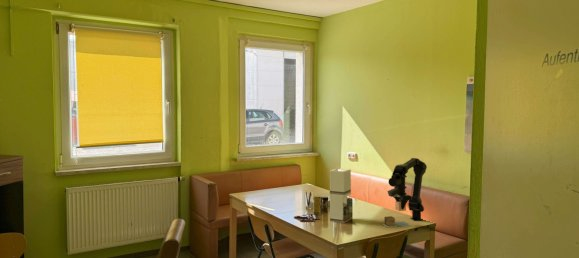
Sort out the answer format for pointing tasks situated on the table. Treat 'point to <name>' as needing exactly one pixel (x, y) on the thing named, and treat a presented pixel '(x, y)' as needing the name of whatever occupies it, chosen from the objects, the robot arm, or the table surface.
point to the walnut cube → (389, 221)
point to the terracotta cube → (399, 206)
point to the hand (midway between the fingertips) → (400, 208)
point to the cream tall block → (339, 194)
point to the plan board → (397, 224)
